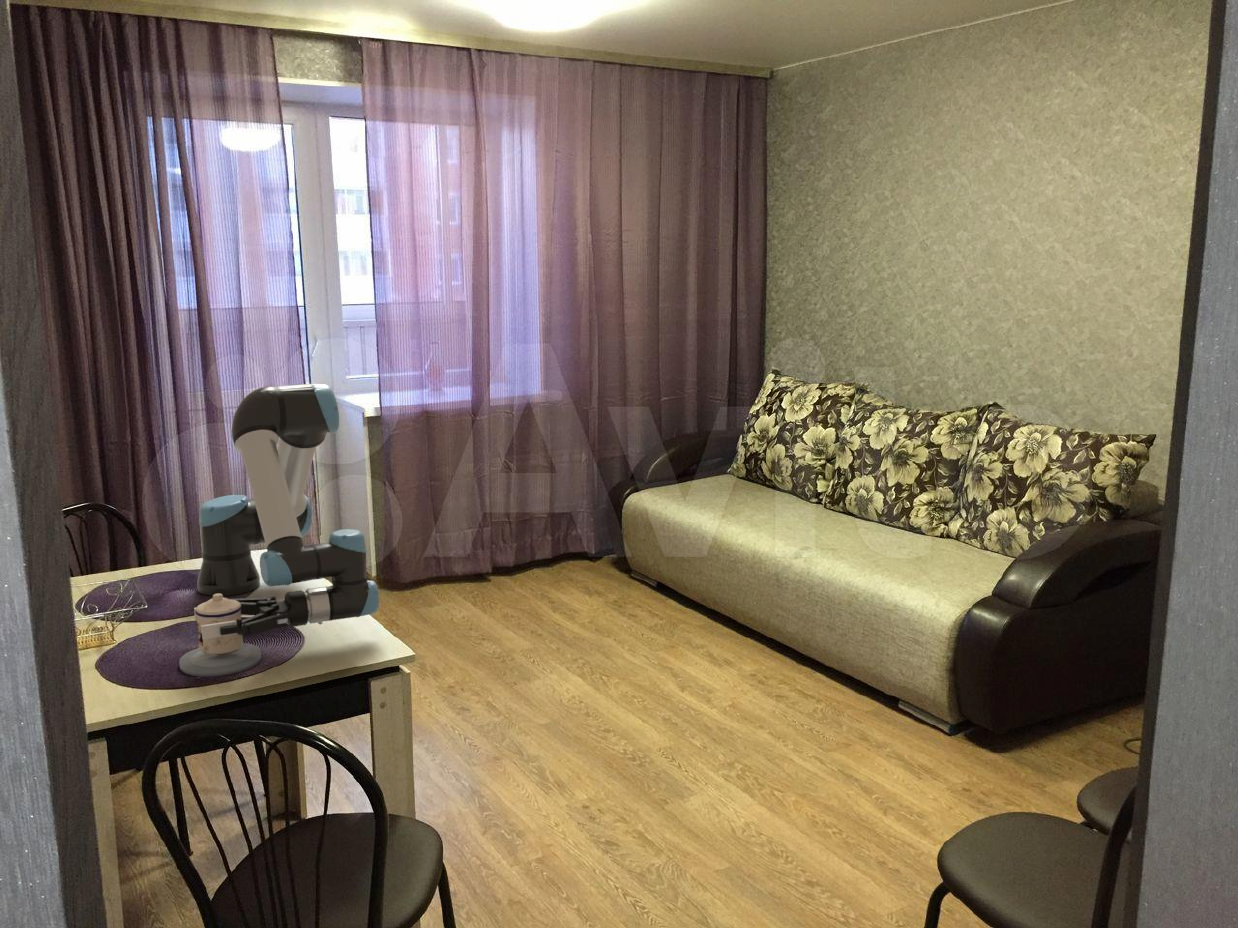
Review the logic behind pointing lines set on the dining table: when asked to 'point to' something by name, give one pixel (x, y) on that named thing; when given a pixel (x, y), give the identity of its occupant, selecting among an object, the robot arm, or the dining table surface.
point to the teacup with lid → (217, 613)
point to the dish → (220, 661)
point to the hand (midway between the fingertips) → (198, 623)
